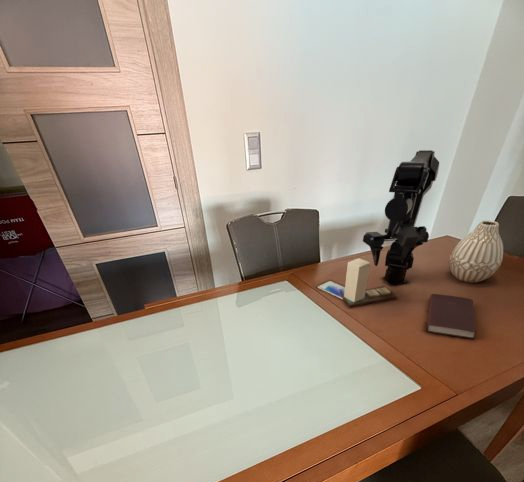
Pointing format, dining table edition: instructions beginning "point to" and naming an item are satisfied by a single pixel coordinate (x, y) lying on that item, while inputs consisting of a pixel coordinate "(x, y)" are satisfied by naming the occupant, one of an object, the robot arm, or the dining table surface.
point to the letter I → (356, 279)
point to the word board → (371, 297)
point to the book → (451, 316)
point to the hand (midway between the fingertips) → (389, 264)
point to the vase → (478, 253)
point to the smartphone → (332, 288)
